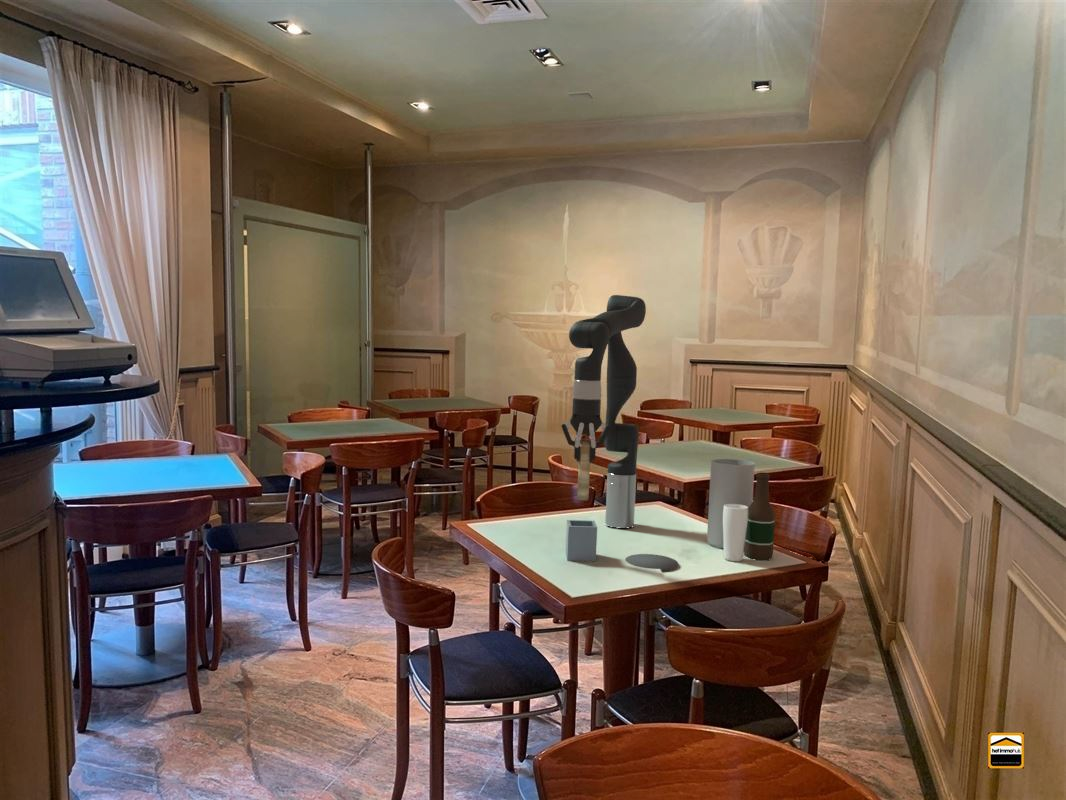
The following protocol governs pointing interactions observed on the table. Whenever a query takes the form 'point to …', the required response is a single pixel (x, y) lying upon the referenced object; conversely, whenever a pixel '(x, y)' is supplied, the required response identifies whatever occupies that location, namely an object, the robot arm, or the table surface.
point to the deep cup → (581, 540)
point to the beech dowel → (584, 469)
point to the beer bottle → (760, 522)
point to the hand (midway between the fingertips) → (584, 461)
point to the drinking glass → (734, 531)
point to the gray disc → (652, 561)
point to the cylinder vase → (727, 493)
